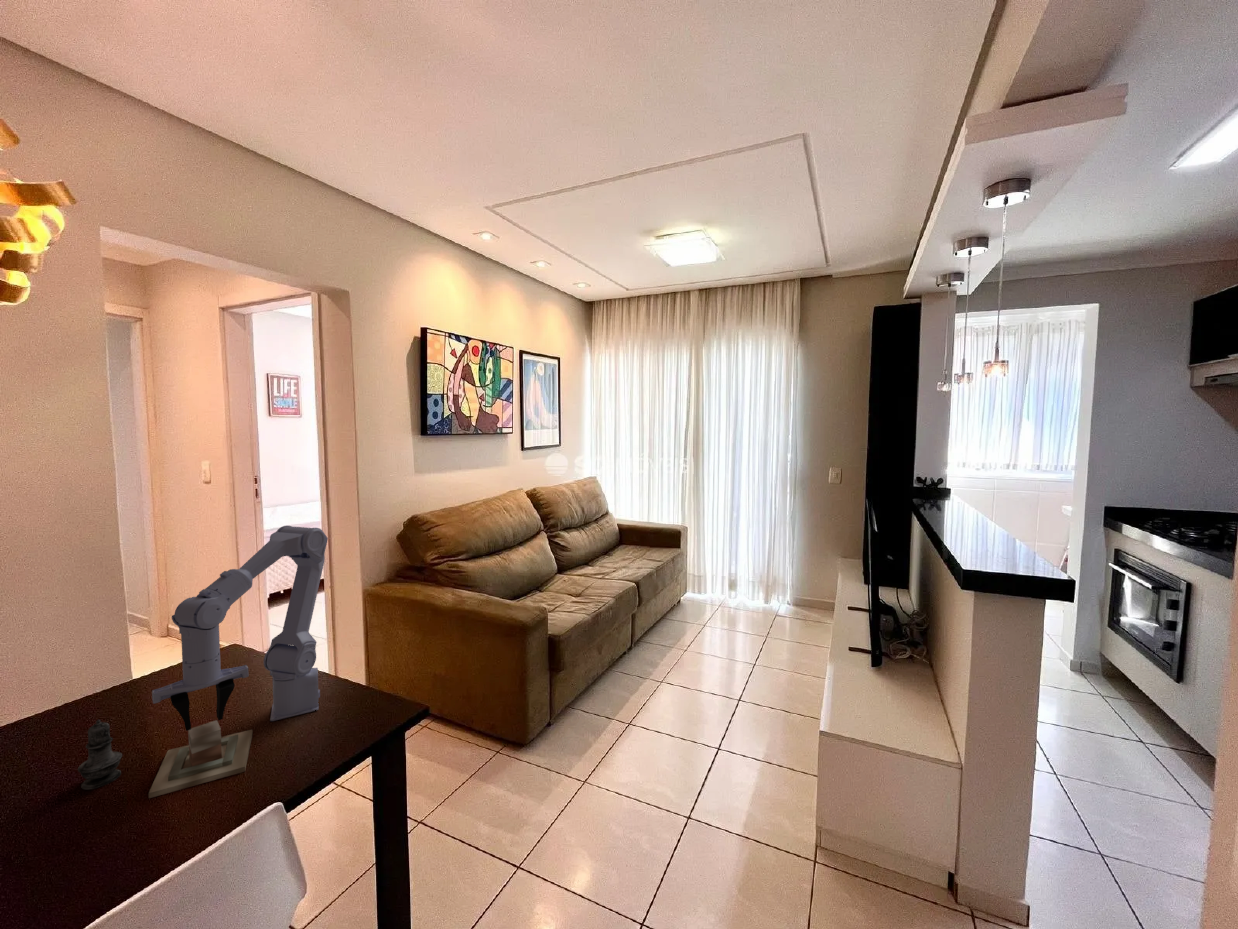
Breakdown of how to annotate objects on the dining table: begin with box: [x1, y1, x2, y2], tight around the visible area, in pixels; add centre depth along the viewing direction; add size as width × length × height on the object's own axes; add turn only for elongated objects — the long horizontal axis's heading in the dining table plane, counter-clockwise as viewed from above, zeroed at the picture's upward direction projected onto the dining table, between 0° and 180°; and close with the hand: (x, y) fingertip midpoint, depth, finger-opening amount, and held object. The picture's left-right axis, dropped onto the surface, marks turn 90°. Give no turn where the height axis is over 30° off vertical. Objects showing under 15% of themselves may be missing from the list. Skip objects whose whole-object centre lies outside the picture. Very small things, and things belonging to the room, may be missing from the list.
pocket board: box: [148, 729, 254, 799], centre depth 99 cm, size 14×14×2 cm
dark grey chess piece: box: [77, 718, 123, 791], centre depth 93 cm, size 6×6×12 cm
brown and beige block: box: [187, 719, 222, 766], centre depth 98 cm, size 4×4×6 cm
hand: (204, 723), depth 98 cm, fingers open, 4 cm apart
